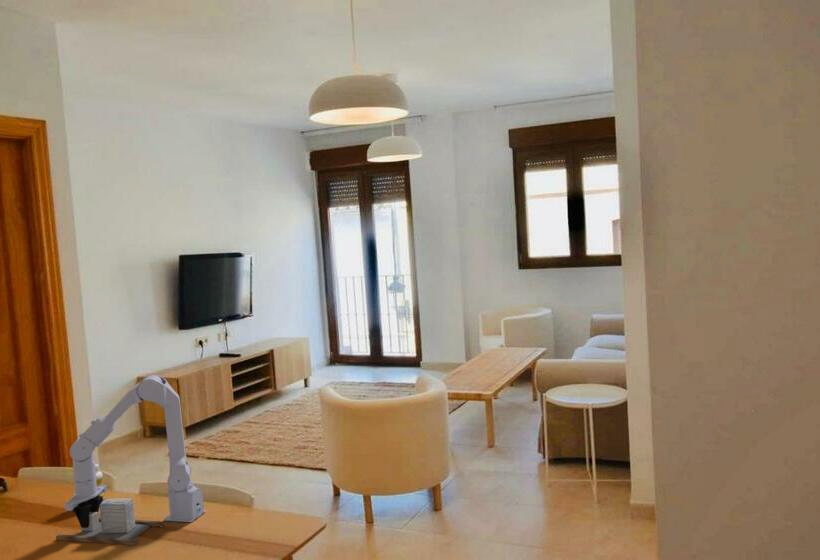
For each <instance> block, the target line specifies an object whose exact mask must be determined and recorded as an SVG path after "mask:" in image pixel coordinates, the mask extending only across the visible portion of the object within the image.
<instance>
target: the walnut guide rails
mask: <svg viewBox="0 0 820 560" xmlns="http://www.w3.org/2000/svg"><path fill="white" fill-rule="evenodd" d="M99 522H101V517H99ZM135 524H141V525H149V526H150V527H151V526H162V527H164V521H160V520H142V519H141V520H140V519H135ZM55 541H65V542H79V543H80V542H81V543H94V544H95V543H96V544H110V545H123V546H124V545H127V546H136V545H138V543H139V542H138V541H139V540H138V539H136V538H134V539H123V538H107V537H92V536H76V534H73V535H71V534H57V535H56V536H55Z"/></svg>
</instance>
